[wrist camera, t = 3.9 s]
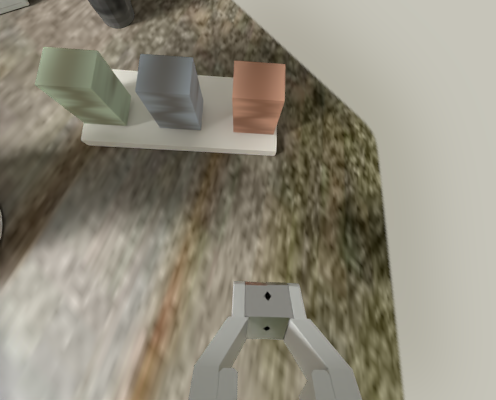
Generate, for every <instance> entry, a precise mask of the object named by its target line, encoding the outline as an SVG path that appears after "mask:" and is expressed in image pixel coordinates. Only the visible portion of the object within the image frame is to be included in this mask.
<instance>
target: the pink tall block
mask: <svg viewBox="0 0 496 400" xmlns="http://www.w3.org/2000/svg"><path fill="white" fill-rule="evenodd" d="M284 102H285V64H276V63H262V62H248V61H234V76H233V93H232V106H233V132H237V133H254V134H271V135H273V134H274V131H275V129H276V126H277V123H278V120H279V117H280V114H281V111H282V108H283V105H284Z"/></svg>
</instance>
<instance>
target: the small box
mask: <svg viewBox="0 0 496 400" xmlns="http://www.w3.org/2000/svg"><path fill="white" fill-rule="evenodd" d="M28 5H29V2H28V0H0V14H2V13H6V12H9V11H12V10H15V9H19V8H22V7H25V6H28Z"/></svg>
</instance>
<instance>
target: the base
mask: <svg viewBox="0 0 496 400" xmlns="http://www.w3.org/2000/svg"><path fill="white" fill-rule="evenodd" d="M111 70H112V71H113V72H114V74H115V75H116V76H117V78H118V79H119V80H120V82H121V83H122V84H123V86H124V87H125V89H126V90H127V91H128V93H129V94H130V95H131V101H130V108H129V115H128V122H127V126H120V125H103V124H87V123H84V125H83V130H82V136H81V141H82V142H84V143H85V144H87V145H90V146H108V147H125V148H143V149H161V150H179V151H197V152H214V153H232V154H250V155H268V156H275V154H276V146H277V126H276V129H275V131H274V134H273V135H271V134H254V133H237V132H233V106H232V93H233V78H232V77H217V76H203V75H197V76H198V80H199V85H200V89H201V93H202V97H203V113H202V125H201V130H187V129H170V128H160V127H159V126H158V124H157V123H156V121H155V120H154V118H153V117H152V115H151V114H150V112H149V111H148V110H147V108H146V107H145V105H144V104H143V102H142V101H141V99H140V98H139V96H138V95H137V93H136V92H135V88H136V81H137V74H138V71H130V70H116V69H111Z"/></svg>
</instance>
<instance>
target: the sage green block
mask: <svg viewBox="0 0 496 400" xmlns="http://www.w3.org/2000/svg"><path fill="white" fill-rule="evenodd" d="M35 85H36V86H37V87H38V88H40V89H41V90H42V91H43V92H45V93H46V94H47V95H49V96H50V97H51V98H53V99H54V100H55V101H56V102H58V103H59V104H60V105H62V106H63V107H64V108H66V109H67V110H68V111H69V112H71V113H72V114H73V115H75V116H76V117H77V118H79V119H80V120H81V121H82V122H84V123H87V124H103V125H120V126H127V122H128V115H129V108H130V101H131V95H130V94H129V93H128V91H127V90H126V89H125V87H124V86H123V84H122V83H121V82H120V80H119V79H118V78H117V76H116V75H115V74H114V72H113V71H112V70H111V68H110V67H109V65H108V64H107V63H106V61H105V60H104V59H103V57H102V56H101V55H100V53H99V52H98V51H94V50H80V49H66V48H52V47H43V51H42V56H41V60H40V64H39V69H38V73H37V77H36V82H35Z"/></svg>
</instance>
